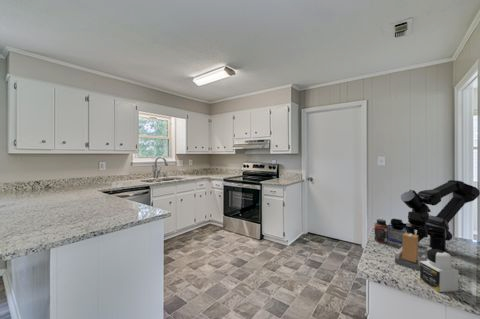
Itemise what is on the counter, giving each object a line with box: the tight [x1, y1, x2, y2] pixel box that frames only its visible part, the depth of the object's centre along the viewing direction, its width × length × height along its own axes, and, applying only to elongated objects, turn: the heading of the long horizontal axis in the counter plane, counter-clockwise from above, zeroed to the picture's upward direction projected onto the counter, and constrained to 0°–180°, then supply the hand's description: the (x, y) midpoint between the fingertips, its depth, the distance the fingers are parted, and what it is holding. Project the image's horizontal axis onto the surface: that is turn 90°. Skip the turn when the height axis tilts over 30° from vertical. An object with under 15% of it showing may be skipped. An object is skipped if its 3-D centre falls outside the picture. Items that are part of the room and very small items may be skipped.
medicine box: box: [387, 222, 407, 244], centre depth 115 cm, size 8×4×9 cm, turn 55°
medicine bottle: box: [419, 249, 459, 293], centre depth 75 cm, size 7×7×12 cm
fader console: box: [394, 246, 432, 271], centre depth 94 cm, size 19×9×4 cm, turn 130°
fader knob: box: [401, 232, 419, 263], centre depth 90 cm, size 4×4×10 cm
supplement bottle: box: [374, 218, 389, 244], centre depth 114 cm, size 6×6×11 cm
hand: (413, 245), depth 93 cm, fingers closed
